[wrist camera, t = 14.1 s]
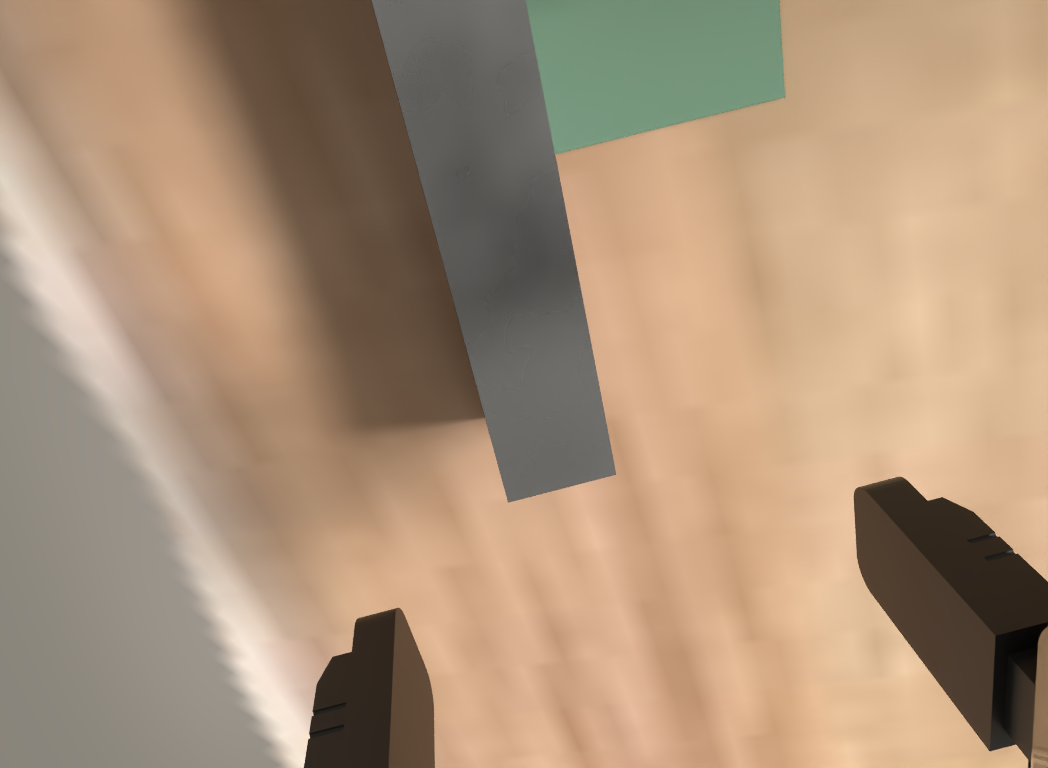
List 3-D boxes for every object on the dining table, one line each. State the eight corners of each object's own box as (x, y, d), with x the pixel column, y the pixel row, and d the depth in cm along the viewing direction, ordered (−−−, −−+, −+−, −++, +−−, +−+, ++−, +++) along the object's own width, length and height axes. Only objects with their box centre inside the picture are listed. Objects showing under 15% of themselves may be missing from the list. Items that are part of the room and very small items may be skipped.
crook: (274, -387, 14) (230, -517, 10) (690, -480, 14) (788, -641, 10) (490, 417, 21) (508, 502, 18) (758, 348, 22) (829, 418, 18)
